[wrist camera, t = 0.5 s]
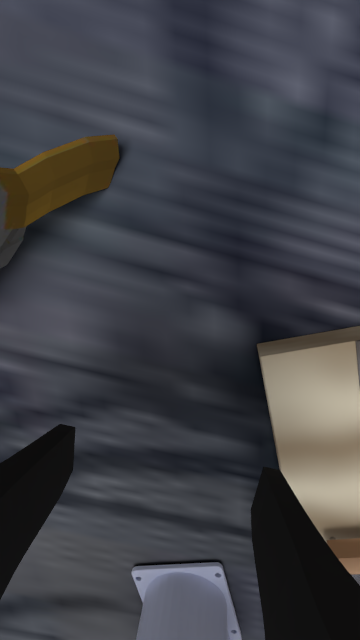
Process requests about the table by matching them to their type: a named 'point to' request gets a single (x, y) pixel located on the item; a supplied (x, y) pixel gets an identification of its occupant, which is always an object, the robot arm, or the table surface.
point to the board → (318, 423)
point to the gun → (52, 185)
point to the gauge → (347, 553)
